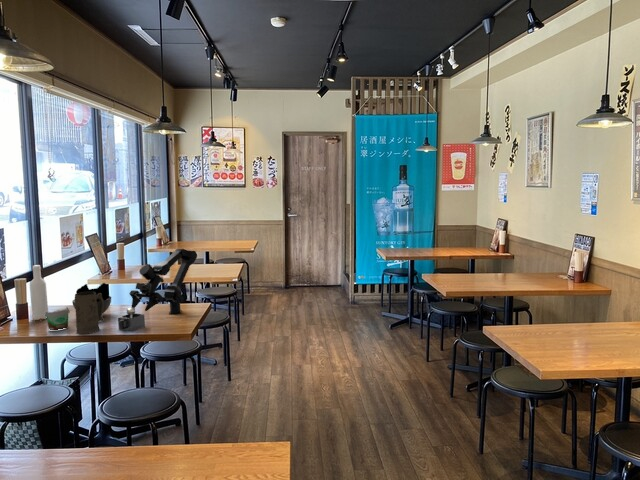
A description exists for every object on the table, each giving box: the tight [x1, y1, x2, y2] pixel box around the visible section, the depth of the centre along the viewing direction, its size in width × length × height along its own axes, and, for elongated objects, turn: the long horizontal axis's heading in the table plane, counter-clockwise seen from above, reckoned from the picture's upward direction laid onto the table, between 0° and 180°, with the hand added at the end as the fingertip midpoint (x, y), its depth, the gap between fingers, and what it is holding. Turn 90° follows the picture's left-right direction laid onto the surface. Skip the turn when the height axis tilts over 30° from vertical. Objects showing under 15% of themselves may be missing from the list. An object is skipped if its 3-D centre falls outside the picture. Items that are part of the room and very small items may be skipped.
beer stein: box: [74, 292, 104, 335], centre depth 264 cm, size 15×11×20 cm
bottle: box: [29, 264, 49, 319], centre depth 287 cm, size 8×8×30 cm
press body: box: [117, 312, 146, 332], centre depth 265 cm, size 12×9×6 cm
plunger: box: [126, 307, 136, 318], centre depth 266 cm, size 7×7×10 cm
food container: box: [45, 306, 70, 330], centre depth 267 cm, size 12×6×10 cm, turn 148°
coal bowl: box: [71, 282, 112, 315], centre depth 290 cm, size 20×20×19 cm
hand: (138, 309), depth 270 cm, fingers open, 9 cm apart
